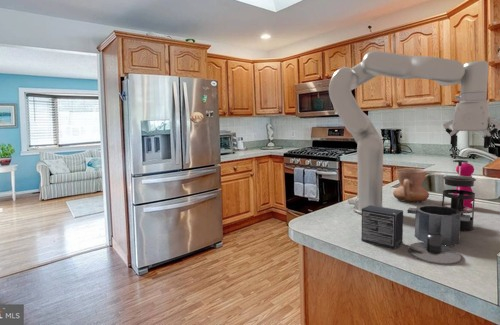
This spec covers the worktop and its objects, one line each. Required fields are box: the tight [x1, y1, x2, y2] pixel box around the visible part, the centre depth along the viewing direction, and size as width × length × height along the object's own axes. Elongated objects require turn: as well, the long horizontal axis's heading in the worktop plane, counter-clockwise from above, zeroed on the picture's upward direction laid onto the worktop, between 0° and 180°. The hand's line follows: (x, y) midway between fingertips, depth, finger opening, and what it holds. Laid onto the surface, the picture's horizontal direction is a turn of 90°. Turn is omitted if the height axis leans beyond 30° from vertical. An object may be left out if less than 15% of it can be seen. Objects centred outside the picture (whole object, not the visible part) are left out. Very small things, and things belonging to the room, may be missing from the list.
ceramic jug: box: [392, 167, 430, 203], centre depth 137 cm, size 18×14×14 cm
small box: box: [360, 205, 404, 250], centre depth 93 cm, size 11×6×10 cm, turn 45°
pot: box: [406, 204, 471, 247], centre depth 94 cm, size 16×12×9 cm
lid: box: [408, 233, 462, 265], centre depth 83 cm, size 12×12×6 cm
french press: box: [441, 159, 476, 232], centre depth 102 cm, size 12×9×23 cm
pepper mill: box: [452, 158, 475, 209], centre depth 124 cm, size 7×7×20 cm
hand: (469, 147), depth 108 cm, fingers open, 9 cm apart
